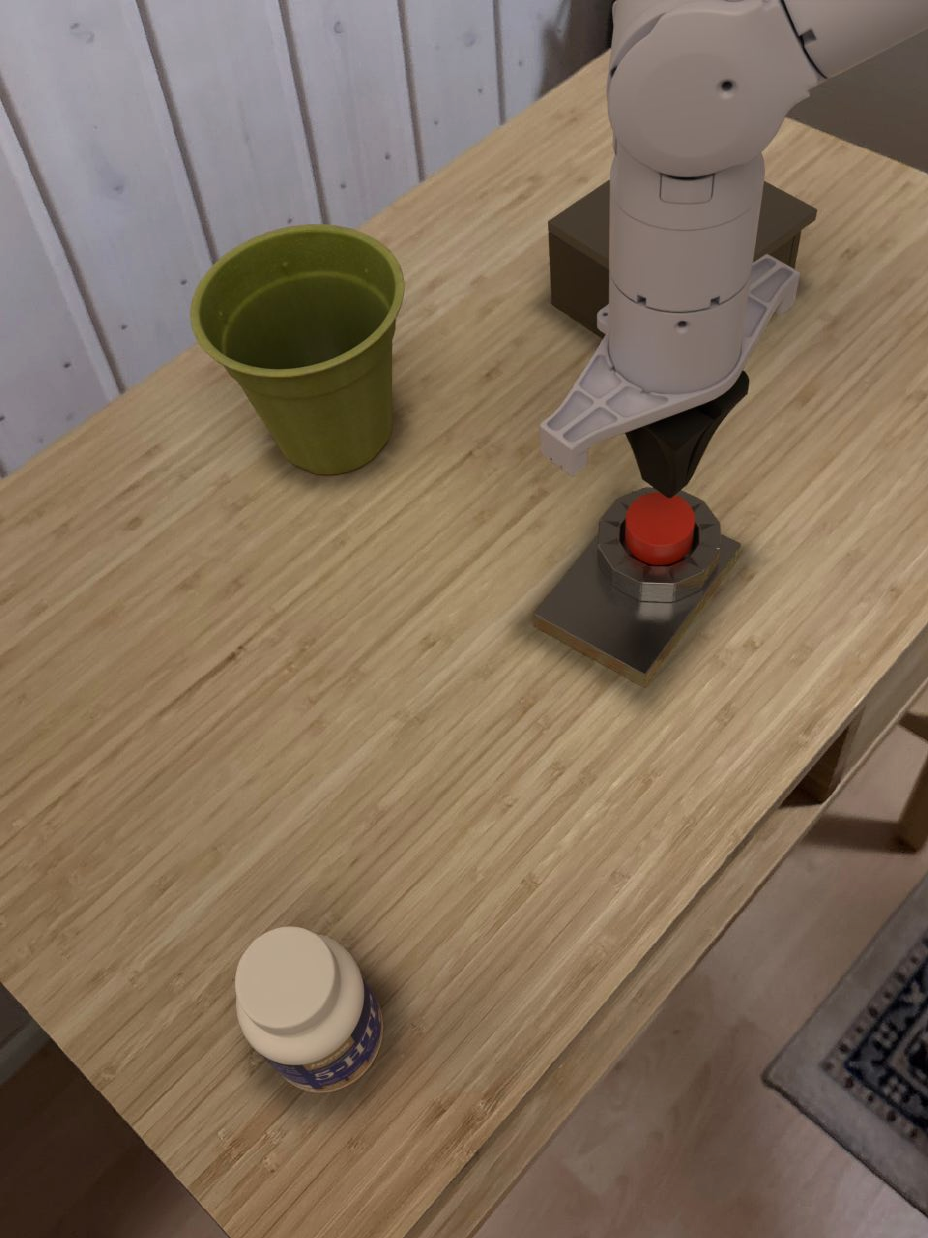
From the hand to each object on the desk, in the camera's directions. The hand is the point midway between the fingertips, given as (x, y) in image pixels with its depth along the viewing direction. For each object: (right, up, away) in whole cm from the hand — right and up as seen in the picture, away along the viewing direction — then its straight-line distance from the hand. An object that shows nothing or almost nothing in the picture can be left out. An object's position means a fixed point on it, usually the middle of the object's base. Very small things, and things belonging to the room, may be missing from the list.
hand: (664, 481), depth 58 cm
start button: (0, -3, +4) cm, 5 cm away
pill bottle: (-16, -26, -6) cm, 31 cm away
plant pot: (-18, +4, +14) cm, 23 cm away
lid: (+3, +17, +13) cm, 22 cm away
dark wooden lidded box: (+4, +14, +18) cm, 23 cm away
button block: (-1, -5, +5) cm, 8 cm away
